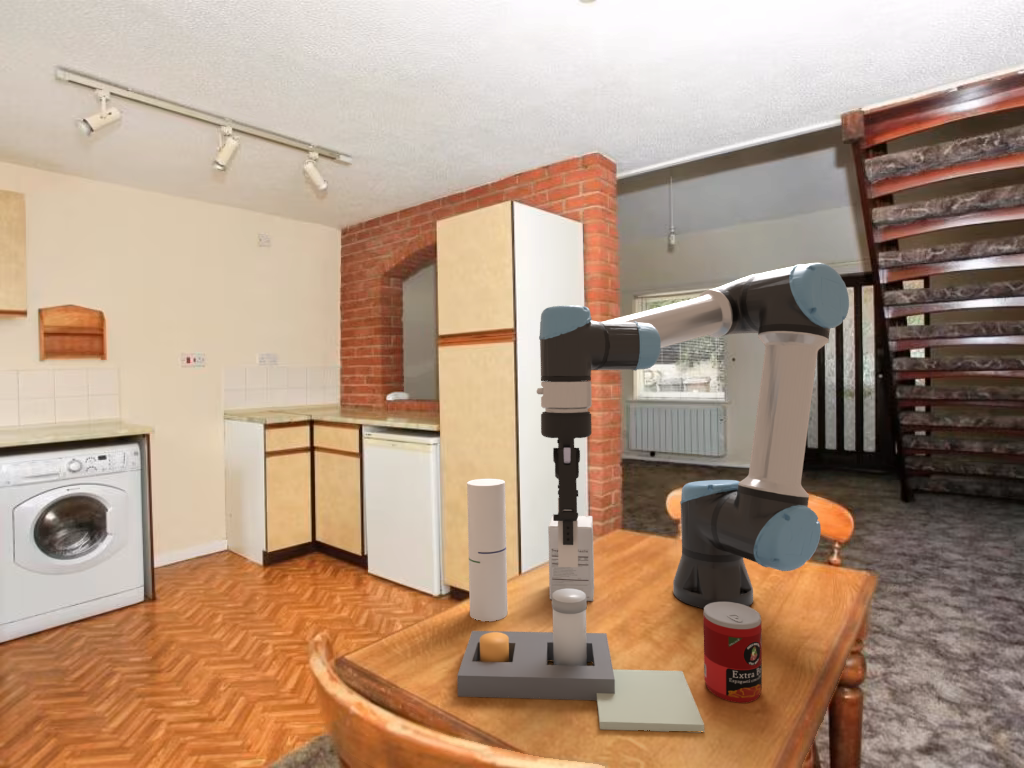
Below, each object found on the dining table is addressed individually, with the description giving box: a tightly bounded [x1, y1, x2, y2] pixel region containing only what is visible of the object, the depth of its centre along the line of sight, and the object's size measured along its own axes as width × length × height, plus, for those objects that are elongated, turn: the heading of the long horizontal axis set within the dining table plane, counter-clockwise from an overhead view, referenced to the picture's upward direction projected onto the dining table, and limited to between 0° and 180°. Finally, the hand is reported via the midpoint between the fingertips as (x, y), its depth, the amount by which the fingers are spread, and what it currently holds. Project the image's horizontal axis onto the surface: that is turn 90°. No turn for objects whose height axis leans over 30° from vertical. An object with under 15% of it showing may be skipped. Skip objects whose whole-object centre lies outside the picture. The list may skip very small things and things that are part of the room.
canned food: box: [702, 602, 763, 704], centre depth 82 cm, size 8×8×11 cm
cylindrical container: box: [466, 478, 508, 622], centre depth 109 cm, size 7×7×25 cm
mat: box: [596, 668, 705, 733], centre depth 80 cm, size 13×13×1 cm
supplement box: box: [547, 515, 595, 602], centre depth 119 cm, size 9×9×15 cm
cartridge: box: [551, 589, 588, 666], centre depth 87 cm, size 5×5×12 cm
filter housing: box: [456, 630, 615, 701], centre depth 88 cm, size 22×14×3 cm, turn 85°
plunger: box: [479, 632, 509, 662], centre depth 88 cm, size 4×4×4 cm
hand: (567, 551), depth 87 cm, fingers open, 13 cm apart
